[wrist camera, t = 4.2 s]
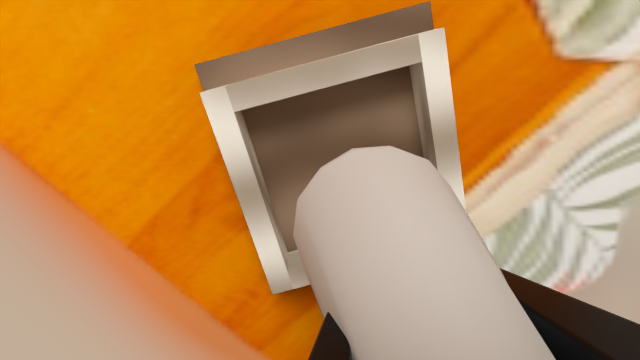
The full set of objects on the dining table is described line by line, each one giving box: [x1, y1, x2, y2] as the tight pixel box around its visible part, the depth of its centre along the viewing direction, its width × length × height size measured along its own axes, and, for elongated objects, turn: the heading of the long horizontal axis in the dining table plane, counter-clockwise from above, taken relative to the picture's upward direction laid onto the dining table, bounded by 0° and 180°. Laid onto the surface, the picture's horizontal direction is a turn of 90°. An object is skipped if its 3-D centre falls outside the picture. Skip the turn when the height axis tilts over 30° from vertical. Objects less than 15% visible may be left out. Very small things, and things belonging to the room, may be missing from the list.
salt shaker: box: [293, 146, 556, 360], centre depth 8 cm, size 6×6×13 cm
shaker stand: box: [195, 1, 466, 294], centre depth 19 cm, size 14×12×3 cm
